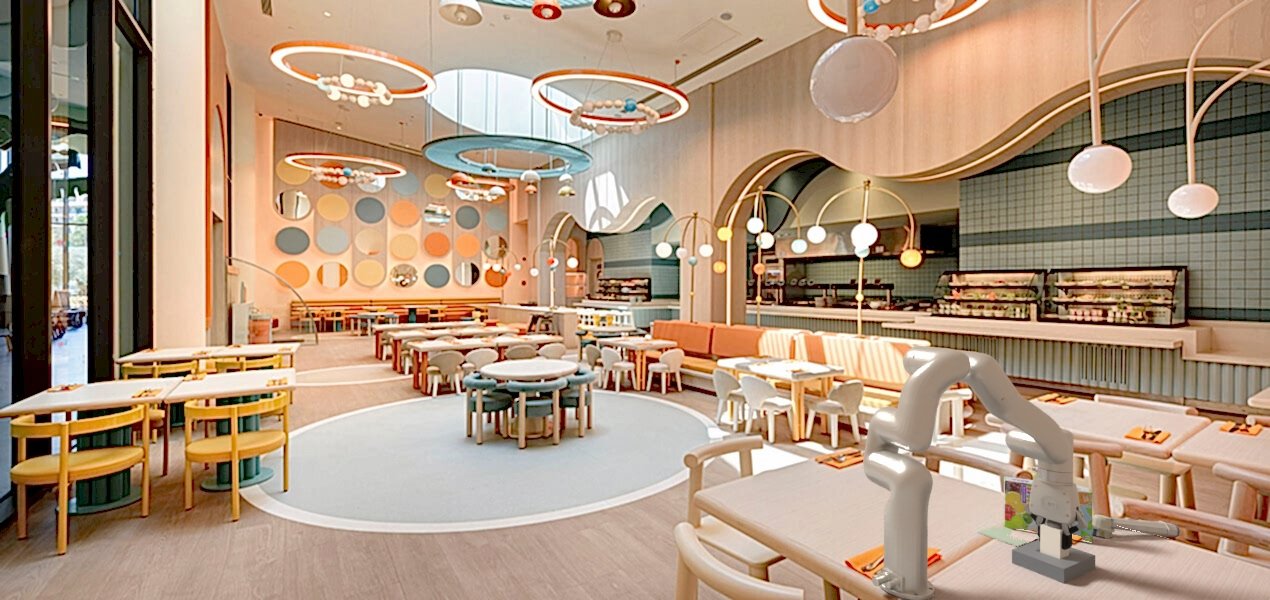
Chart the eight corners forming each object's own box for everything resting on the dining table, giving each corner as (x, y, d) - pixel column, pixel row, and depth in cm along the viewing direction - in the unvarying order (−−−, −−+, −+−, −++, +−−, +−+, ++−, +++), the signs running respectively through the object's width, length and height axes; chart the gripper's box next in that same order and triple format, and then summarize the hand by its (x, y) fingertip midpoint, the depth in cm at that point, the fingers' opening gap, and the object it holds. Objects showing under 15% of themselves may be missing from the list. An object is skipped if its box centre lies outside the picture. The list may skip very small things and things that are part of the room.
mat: (1017, 547, 157) (1017, 545, 157) (978, 532, 166) (978, 531, 166) (1038, 539, 162) (1038, 538, 162) (998, 526, 172) (998, 524, 172)
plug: (1059, 566, 142) (1060, 526, 142) (1040, 558, 146) (1040, 520, 146) (1069, 562, 145) (1069, 523, 145) (1049, 555, 149) (1049, 517, 149)
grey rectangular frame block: (1063, 583, 137) (1064, 569, 137) (1011, 562, 147) (1012, 549, 147) (1095, 568, 144) (1095, 555, 144) (1043, 550, 155) (1043, 537, 155)
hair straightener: (1183, 526, 163) (1100, 514, 163) (1180, 549, 163) (1097, 537, 163) (1166, 519, 168) (1085, 508, 168) (1162, 541, 168) (1082, 530, 168)
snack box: (1089, 538, 164) (1089, 487, 164) (1092, 545, 159) (1092, 492, 159) (1003, 522, 175) (1003, 474, 175) (1004, 528, 170) (1004, 479, 170)
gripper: (1012, 468, 151) (1012, 535, 151) (1086, 487, 136) (1085, 561, 136) (1027, 465, 155) (1027, 530, 155) (1100, 482, 140) (1100, 554, 140)
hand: (1054, 543), depth 145 cm, fingers closed on plug, 4 cm apart
